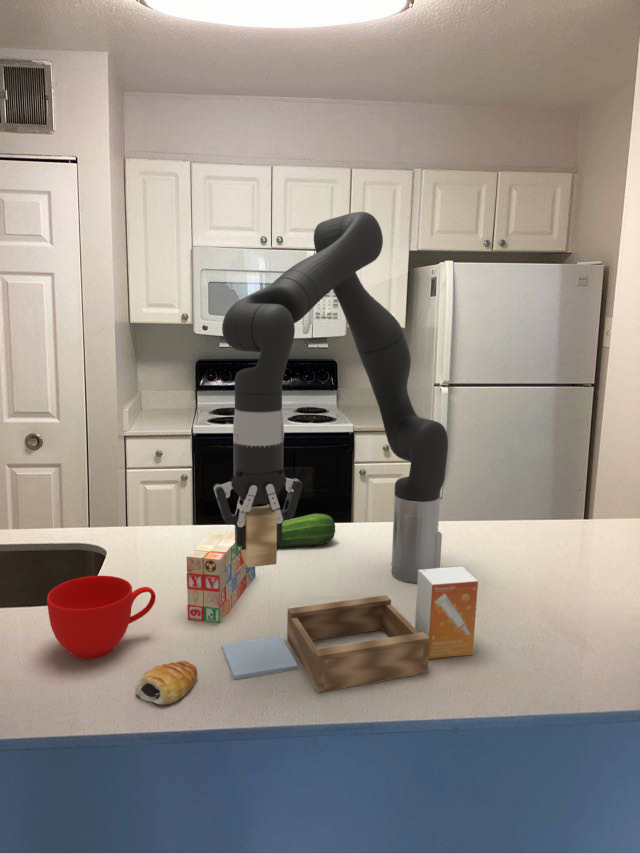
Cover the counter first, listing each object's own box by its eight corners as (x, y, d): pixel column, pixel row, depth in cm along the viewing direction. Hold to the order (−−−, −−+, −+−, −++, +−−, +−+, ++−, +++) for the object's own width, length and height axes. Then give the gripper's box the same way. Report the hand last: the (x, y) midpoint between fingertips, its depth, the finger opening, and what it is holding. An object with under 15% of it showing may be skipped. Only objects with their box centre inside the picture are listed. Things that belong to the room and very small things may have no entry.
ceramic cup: (167, 651, 111) (166, 594, 109) (57, 678, 103) (54, 616, 101) (145, 619, 122) (144, 566, 120) (44, 640, 114) (41, 584, 112)
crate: (385, 625, 121) (386, 595, 120) (427, 672, 106) (429, 638, 105) (287, 640, 115) (287, 608, 114) (317, 692, 100) (318, 655, 99)
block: (269, 553, 109) (269, 505, 108) (276, 564, 105) (276, 514, 104) (241, 556, 108) (241, 507, 106) (247, 567, 104) (247, 516, 102)
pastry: (174, 668, 107) (174, 645, 106) (209, 680, 104) (209, 657, 103) (131, 698, 99) (130, 673, 98) (167, 712, 95) (167, 687, 95)
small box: (427, 660, 110) (431, 584, 107) (413, 641, 116) (416, 568, 113) (474, 655, 112) (479, 580, 109) (458, 636, 118) (462, 565, 115)
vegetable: (336, 510, 159) (249, 515, 154) (339, 541, 157) (252, 548, 153) (329, 515, 165) (247, 520, 161) (332, 545, 164) (249, 551, 159)
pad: (280, 638, 116) (280, 635, 116) (297, 668, 107) (297, 665, 107) (221, 647, 113) (221, 644, 113) (233, 679, 103) (233, 675, 103)
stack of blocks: (227, 574, 143) (226, 517, 140) (255, 576, 141) (255, 519, 139) (187, 620, 122) (185, 555, 120) (220, 624, 121) (219, 558, 119)
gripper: (296, 431, 109) (295, 534, 112) (206, 435, 104) (208, 542, 107) (311, 441, 102) (309, 550, 105) (215, 446, 97) (217, 560, 100)
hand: (258, 545), depth 106 cm, fingers closed on block, 4 cm apart
